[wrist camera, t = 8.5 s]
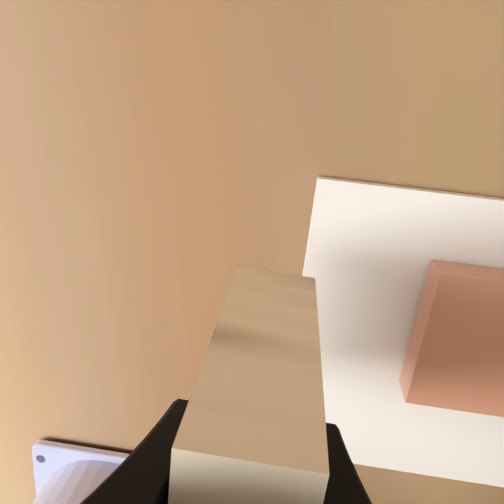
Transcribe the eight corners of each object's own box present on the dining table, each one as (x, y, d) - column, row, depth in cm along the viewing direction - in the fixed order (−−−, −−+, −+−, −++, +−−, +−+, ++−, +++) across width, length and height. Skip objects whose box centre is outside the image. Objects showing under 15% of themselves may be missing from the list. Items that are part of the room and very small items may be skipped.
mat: (598, 494, 23) (604, 503, 22) (276, 444, 24) (275, 451, 23) (735, 226, 18) (747, 230, 17) (317, 175, 19) (318, 178, 18)
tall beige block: (288, 429, 17) (278, 706, 9) (220, 418, 17) (156, 682, 9) (315, 277, 15) (329, 474, 7) (237, 266, 15) (172, 447, 7)
